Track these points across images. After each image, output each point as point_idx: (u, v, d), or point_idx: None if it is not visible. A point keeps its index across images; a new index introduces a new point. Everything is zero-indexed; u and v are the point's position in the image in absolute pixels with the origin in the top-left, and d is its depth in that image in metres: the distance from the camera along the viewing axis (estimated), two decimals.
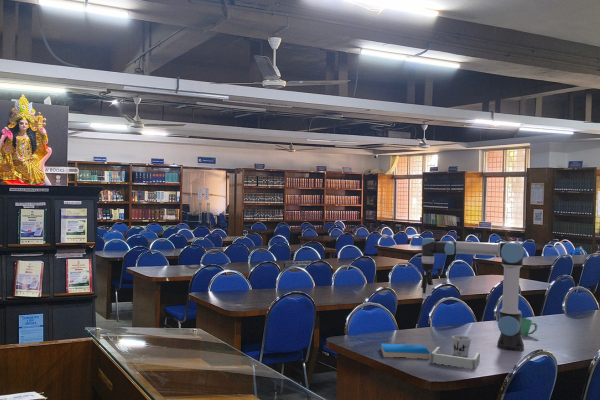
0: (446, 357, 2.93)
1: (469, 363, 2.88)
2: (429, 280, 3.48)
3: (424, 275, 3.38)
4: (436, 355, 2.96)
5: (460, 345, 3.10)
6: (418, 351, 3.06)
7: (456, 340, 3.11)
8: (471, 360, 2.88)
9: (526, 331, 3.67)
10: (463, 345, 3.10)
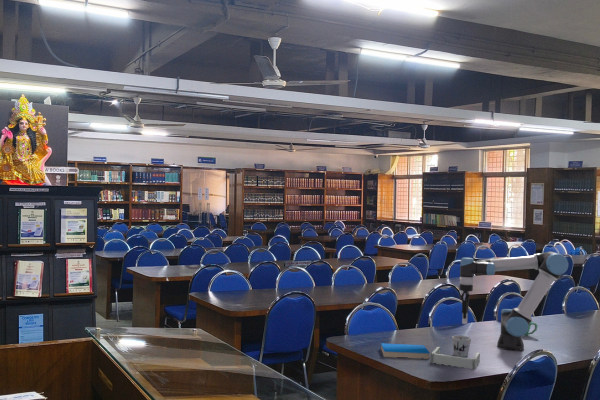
0: (446, 357, 2.93)
1: (469, 363, 2.88)
2: None
3: (463, 301, 3.23)
4: (436, 355, 2.96)
5: (460, 345, 3.10)
6: (418, 351, 3.07)
7: (456, 340, 3.11)
8: (471, 360, 2.88)
9: None
10: (463, 345, 3.10)
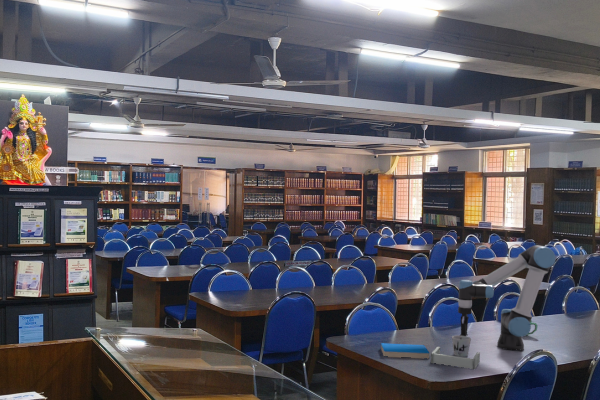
0: (446, 357, 2.93)
1: (469, 363, 2.88)
2: None
3: (462, 324, 3.21)
4: (436, 355, 2.96)
5: (460, 345, 3.10)
6: (418, 351, 3.07)
7: (456, 340, 3.11)
8: (471, 360, 2.88)
9: None
10: (463, 345, 3.10)
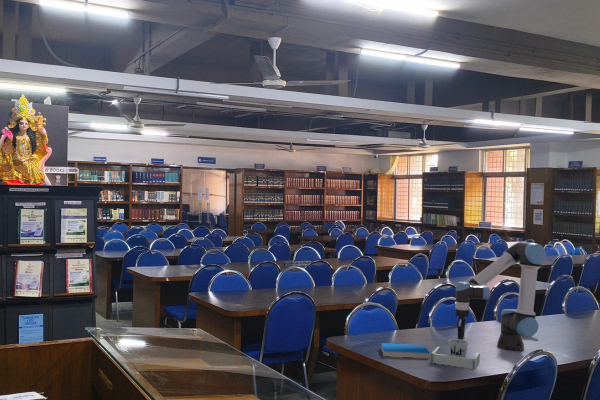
0: (446, 357, 2.93)
1: (469, 363, 2.88)
2: None
3: (459, 327, 3.12)
4: (436, 355, 2.96)
5: (457, 349, 3.01)
6: (418, 351, 3.07)
7: (453, 344, 3.02)
8: (471, 360, 2.88)
9: None
10: (460, 349, 3.01)
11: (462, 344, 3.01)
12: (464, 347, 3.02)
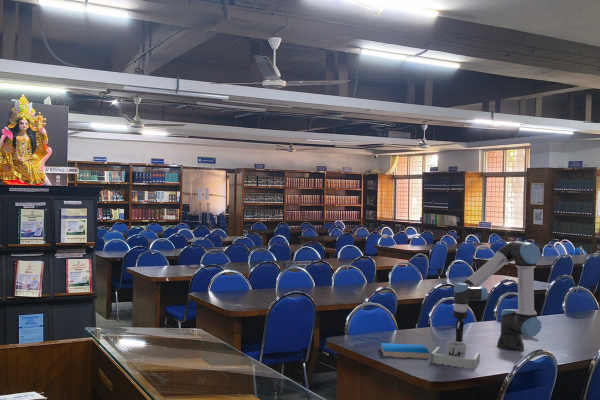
0: (446, 357, 2.93)
1: (469, 363, 2.88)
2: None
3: (457, 329, 3.06)
4: (436, 355, 2.96)
5: (456, 352, 2.96)
6: (418, 350, 3.08)
7: (451, 346, 2.97)
8: (471, 360, 2.88)
9: None
10: (458, 352, 2.95)
11: (460, 347, 2.95)
12: (462, 350, 2.96)
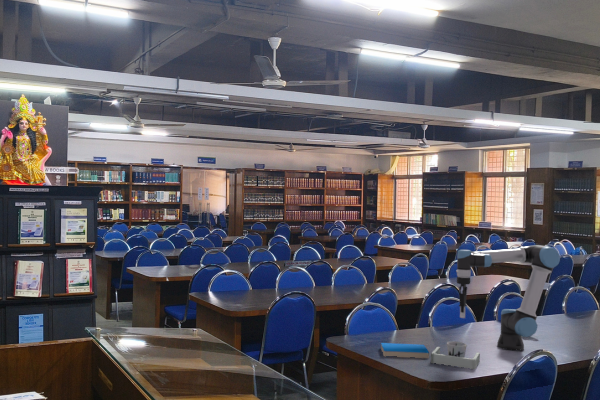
0: (446, 357, 2.93)
1: (469, 363, 2.88)
2: None
3: (461, 294, 3.14)
4: (436, 355, 2.96)
5: (456, 352, 2.96)
6: (418, 350, 3.08)
7: (451, 346, 2.97)
8: (471, 360, 2.88)
9: None
10: (458, 352, 2.95)
11: (460, 347, 2.95)
12: (462, 350, 2.96)
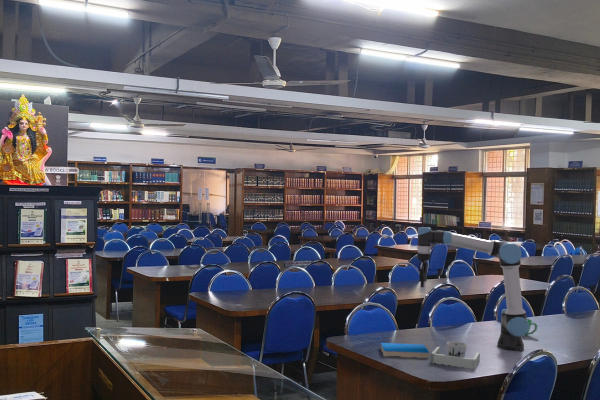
0: (446, 357, 2.93)
1: (469, 363, 2.88)
2: None
3: (420, 269, 3.26)
4: (436, 355, 2.96)
5: (456, 352, 2.96)
6: (418, 350, 3.08)
7: (451, 346, 2.97)
8: (471, 360, 2.88)
9: None
10: (458, 352, 2.95)
11: (460, 347, 2.95)
12: (462, 350, 2.96)
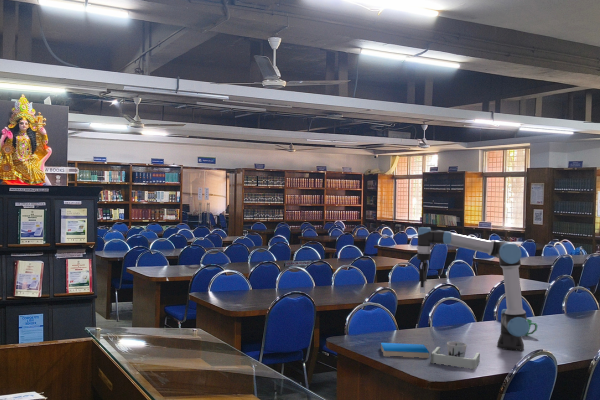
0: (446, 357, 2.93)
1: (469, 363, 2.88)
2: None
3: (420, 269, 3.26)
4: (436, 355, 2.96)
5: (456, 352, 2.96)
6: (418, 350, 3.08)
7: (451, 346, 2.97)
8: (471, 360, 2.88)
9: None
10: (458, 352, 2.95)
11: (460, 347, 2.95)
12: (462, 350, 2.96)
